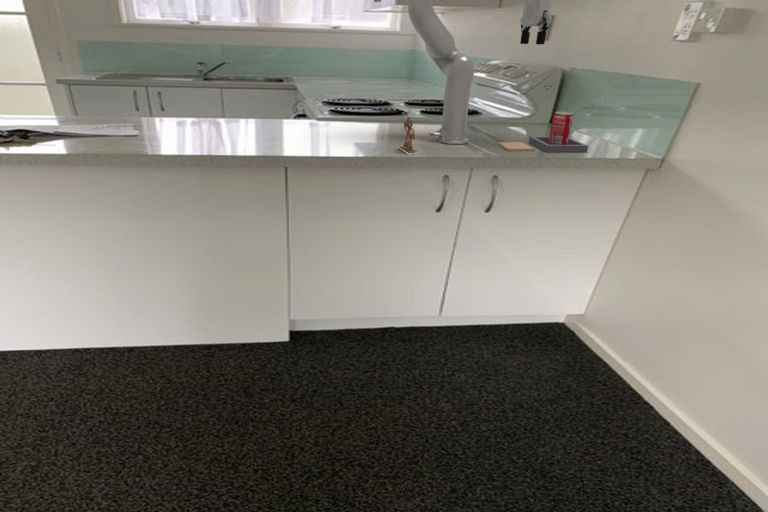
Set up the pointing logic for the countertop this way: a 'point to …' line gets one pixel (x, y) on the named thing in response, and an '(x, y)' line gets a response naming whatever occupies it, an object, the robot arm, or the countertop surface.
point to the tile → (515, 146)
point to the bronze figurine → (406, 124)
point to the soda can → (560, 128)
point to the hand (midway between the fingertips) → (531, 44)
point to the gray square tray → (570, 147)
